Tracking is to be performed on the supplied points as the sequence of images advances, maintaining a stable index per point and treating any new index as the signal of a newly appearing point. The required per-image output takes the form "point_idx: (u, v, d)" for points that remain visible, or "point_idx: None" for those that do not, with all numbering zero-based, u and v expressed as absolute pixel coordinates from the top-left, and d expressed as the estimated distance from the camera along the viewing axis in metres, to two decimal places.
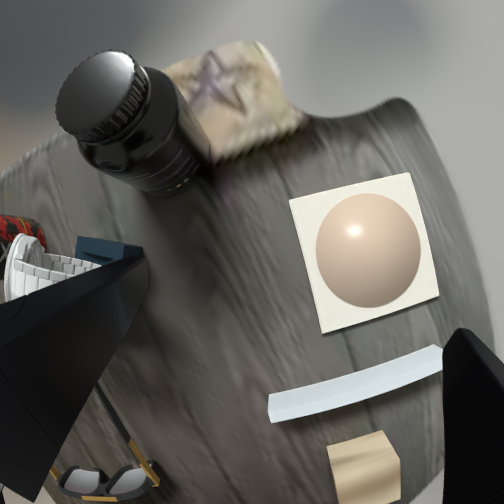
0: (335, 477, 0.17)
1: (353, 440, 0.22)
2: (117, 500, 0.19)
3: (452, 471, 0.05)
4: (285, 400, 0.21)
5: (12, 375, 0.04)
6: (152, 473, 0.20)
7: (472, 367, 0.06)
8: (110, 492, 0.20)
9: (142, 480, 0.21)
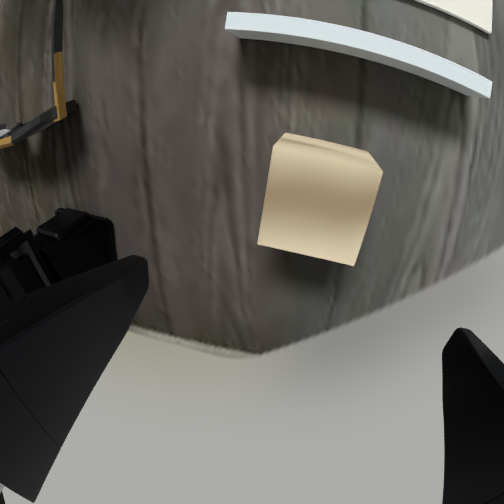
0: (276, 144, 0.13)
1: (324, 141, 0.17)
2: (10, 142, 0.16)
3: (452, 470, 0.05)
4: None
5: (12, 375, 0.04)
6: (62, 101, 0.16)
7: (472, 367, 0.06)
8: None
9: (51, 123, 0.18)
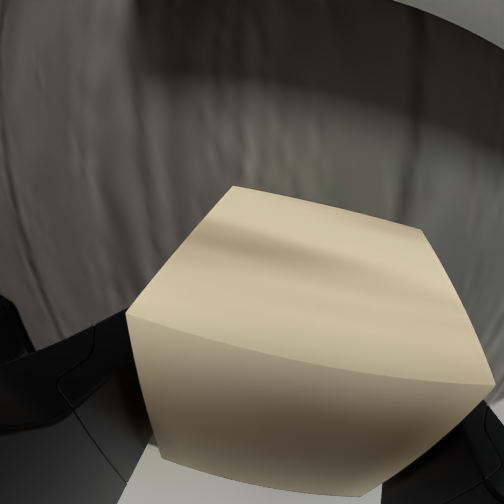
0: (145, 297, 0.04)
1: (324, 209, 0.07)
2: None
3: None
4: None
5: (94, 426, 0.04)
6: None
7: None
8: None
9: None
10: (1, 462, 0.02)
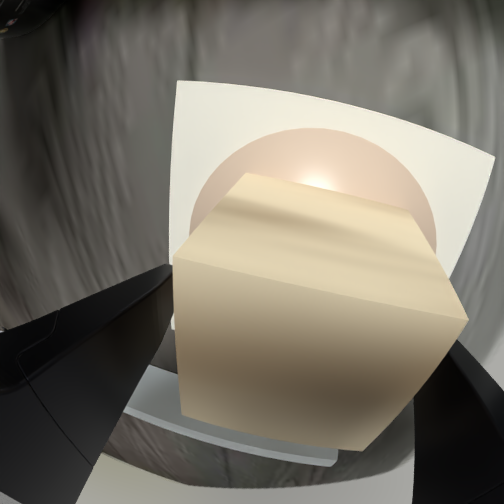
0: (186, 246, 0.05)
1: (323, 191, 0.08)
2: None
3: (422, 472, 0.05)
4: None
5: (51, 401, 0.04)
6: None
7: (442, 364, 0.06)
8: None
9: None
10: None
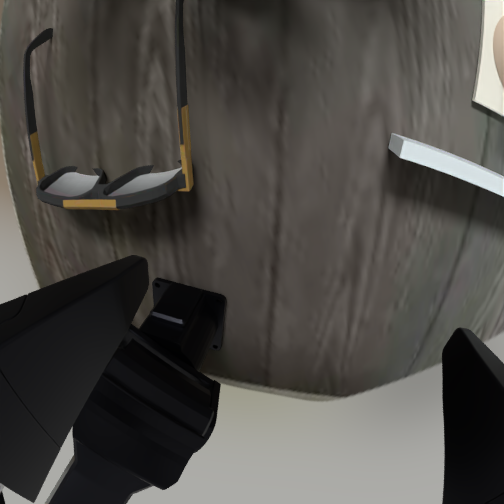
0: None
1: None
2: (115, 207, 0.18)
3: (452, 470, 0.05)
4: (417, 143, 0.15)
5: (12, 375, 0.04)
6: (189, 168, 0.18)
7: (472, 367, 0.06)
8: None
9: None
10: None
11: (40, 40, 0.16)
